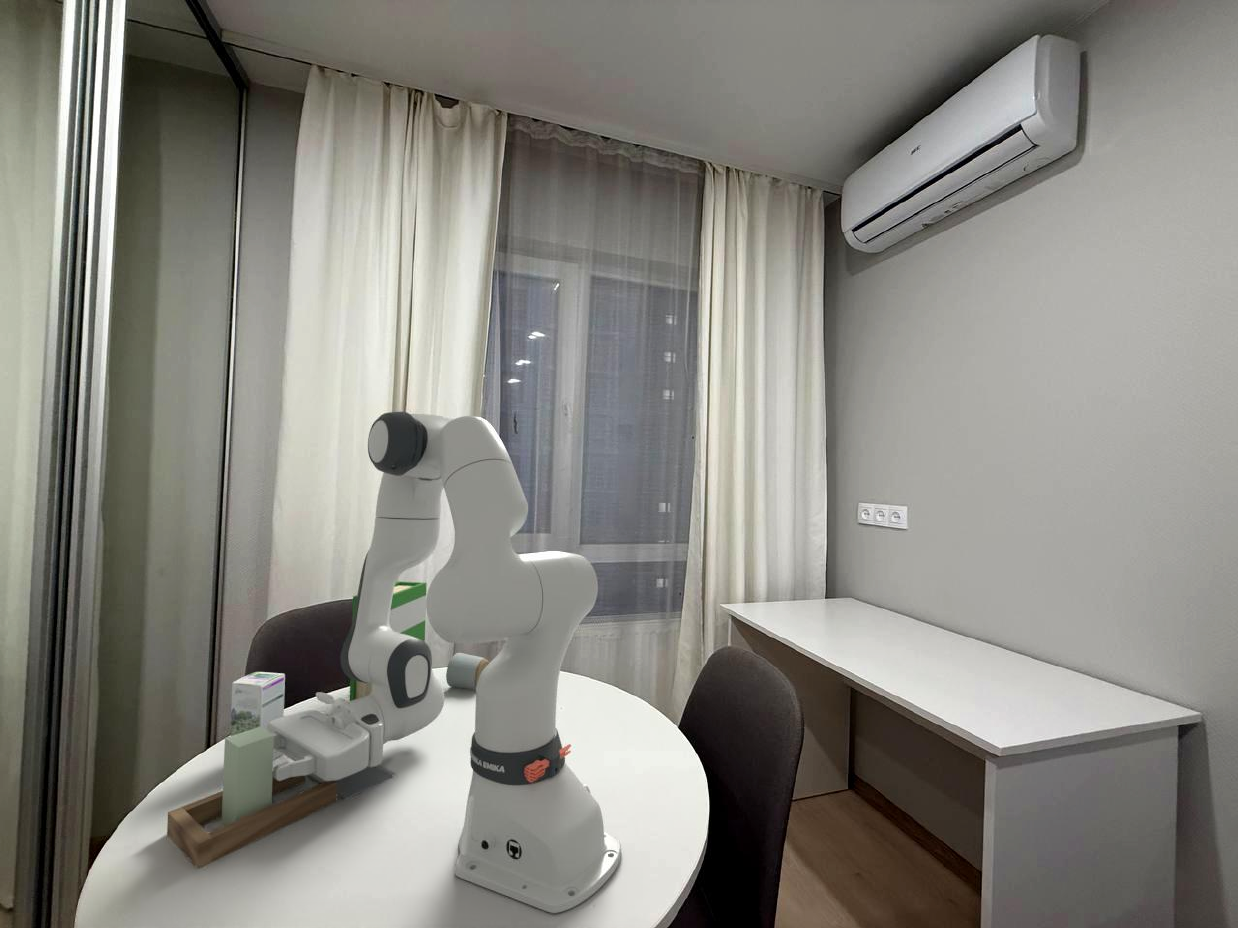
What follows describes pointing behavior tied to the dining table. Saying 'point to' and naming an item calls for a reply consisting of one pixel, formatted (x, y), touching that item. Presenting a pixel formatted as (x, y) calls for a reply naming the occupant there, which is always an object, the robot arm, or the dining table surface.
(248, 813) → the sage block
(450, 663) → the ceramic mug
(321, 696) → the rabbit figurine
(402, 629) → the hardback book
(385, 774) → the mat
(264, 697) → the syrup box
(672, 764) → the dining table surface
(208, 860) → the frame
